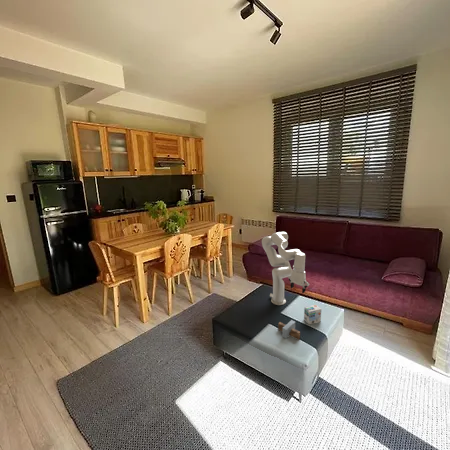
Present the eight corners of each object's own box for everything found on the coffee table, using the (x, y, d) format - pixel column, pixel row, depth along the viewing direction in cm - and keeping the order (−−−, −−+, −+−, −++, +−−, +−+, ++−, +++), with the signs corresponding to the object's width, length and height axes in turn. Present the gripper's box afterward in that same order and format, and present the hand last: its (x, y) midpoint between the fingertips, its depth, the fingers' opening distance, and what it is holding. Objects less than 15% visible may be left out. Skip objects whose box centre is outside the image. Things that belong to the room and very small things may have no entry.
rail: (278, 329, 172) (278, 323, 171) (279, 327, 174) (280, 321, 172) (298, 339, 161) (298, 333, 160) (299, 338, 162) (300, 331, 161)
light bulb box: (308, 324, 176) (309, 311, 174) (303, 319, 182) (304, 306, 180) (321, 321, 179) (321, 309, 176) (315, 316, 185) (316, 304, 183)
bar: (282, 336, 164) (282, 327, 163) (291, 328, 173) (291, 319, 171) (286, 338, 162) (286, 329, 161) (295, 330, 170) (295, 321, 169)
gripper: (286, 267, 178) (285, 287, 183) (307, 274, 166) (305, 296, 170) (291, 264, 183) (290, 284, 188) (312, 271, 171) (310, 292, 175)
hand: (297, 289), depth 179 cm, fingers open, 9 cm apart
